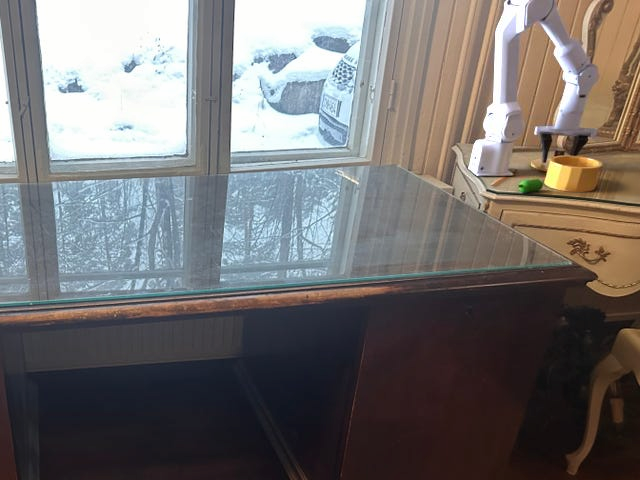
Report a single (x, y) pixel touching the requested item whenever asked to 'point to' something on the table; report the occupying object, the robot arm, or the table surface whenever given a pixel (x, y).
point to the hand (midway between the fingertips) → (556, 162)
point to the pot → (573, 173)
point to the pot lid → (544, 166)
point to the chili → (530, 185)
